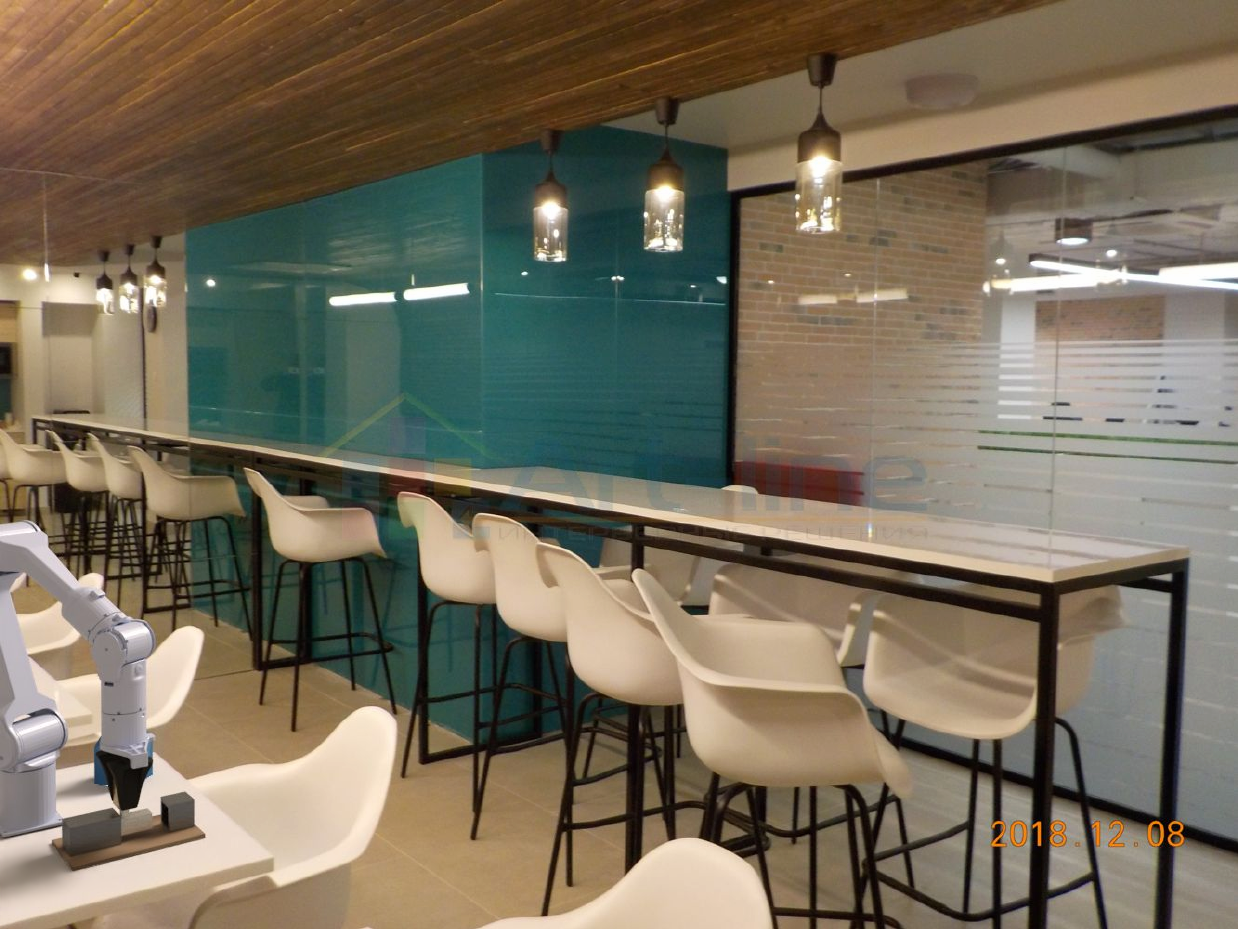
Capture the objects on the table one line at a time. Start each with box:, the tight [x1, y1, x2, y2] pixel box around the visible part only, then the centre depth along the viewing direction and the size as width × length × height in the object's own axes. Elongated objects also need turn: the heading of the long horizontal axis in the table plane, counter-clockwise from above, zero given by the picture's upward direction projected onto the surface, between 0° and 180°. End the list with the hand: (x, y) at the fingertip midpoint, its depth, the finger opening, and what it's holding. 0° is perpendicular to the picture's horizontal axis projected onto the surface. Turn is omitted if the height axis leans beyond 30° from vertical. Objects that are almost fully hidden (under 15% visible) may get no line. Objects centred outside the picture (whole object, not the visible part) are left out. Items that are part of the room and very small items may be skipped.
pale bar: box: [112, 780, 153, 836], centre depth 146 cm, size 4×10×7 cm, turn 131°
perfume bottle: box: [93, 729, 154, 786], centre depth 171 cm, size 6×6×12 cm
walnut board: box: [51, 813, 206, 872], centre depth 148 cm, size 11×17×1 cm, turn 131°
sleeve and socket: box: [61, 791, 196, 857], centre depth 148 cm, size 4×16×4 cm, turn 131°
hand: (124, 804), depth 147 cm, fingers closed on pale bar, 4 cm apart
